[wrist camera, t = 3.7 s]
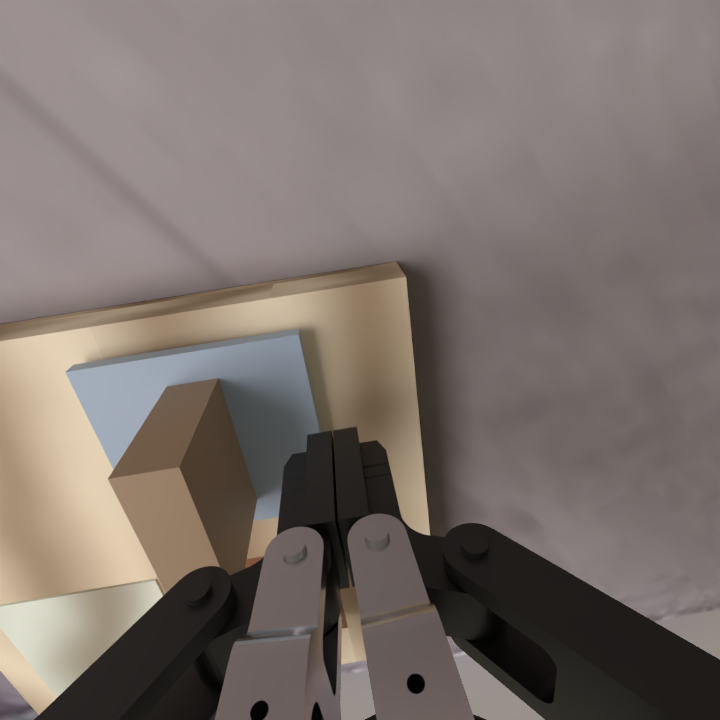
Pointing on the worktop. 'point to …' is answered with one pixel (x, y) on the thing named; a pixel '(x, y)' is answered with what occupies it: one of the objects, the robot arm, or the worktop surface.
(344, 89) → the worktop surface
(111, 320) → the board
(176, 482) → the lid
